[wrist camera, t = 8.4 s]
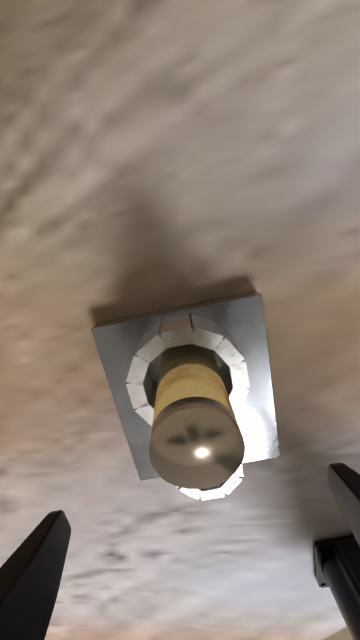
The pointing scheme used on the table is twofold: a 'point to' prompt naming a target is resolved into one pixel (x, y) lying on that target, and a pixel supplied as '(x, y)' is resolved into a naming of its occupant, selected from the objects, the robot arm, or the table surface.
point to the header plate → (232, 360)
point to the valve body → (193, 421)
